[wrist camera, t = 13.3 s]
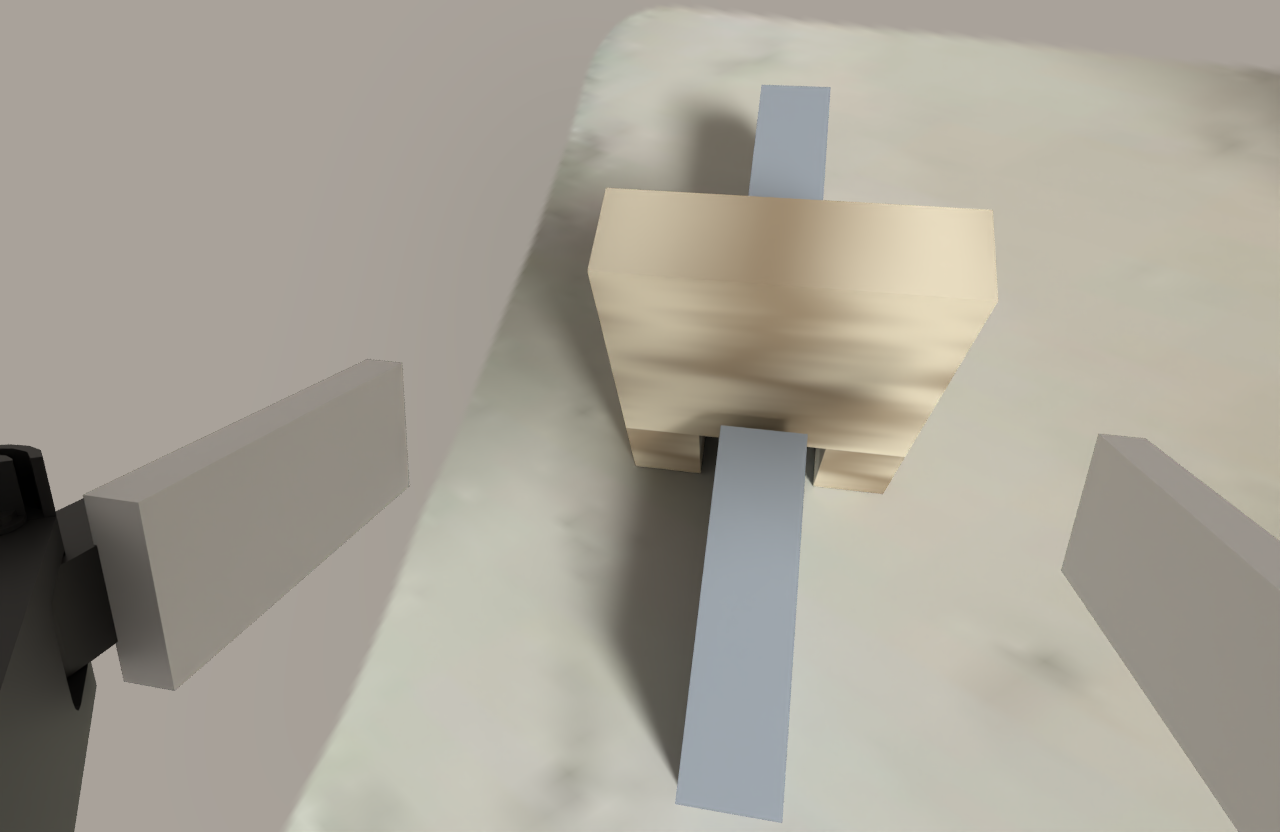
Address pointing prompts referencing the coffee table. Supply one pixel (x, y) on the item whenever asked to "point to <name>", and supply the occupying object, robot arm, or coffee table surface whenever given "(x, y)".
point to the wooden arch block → (787, 321)
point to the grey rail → (753, 542)
